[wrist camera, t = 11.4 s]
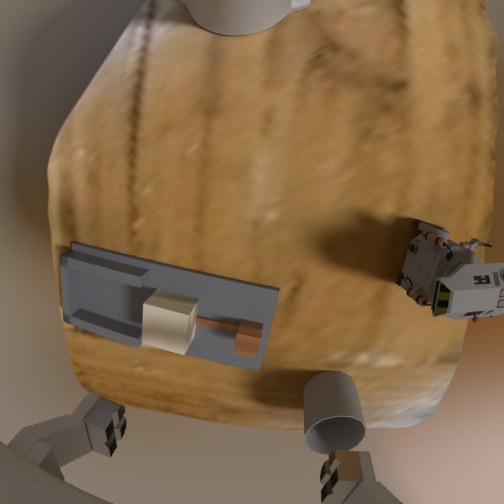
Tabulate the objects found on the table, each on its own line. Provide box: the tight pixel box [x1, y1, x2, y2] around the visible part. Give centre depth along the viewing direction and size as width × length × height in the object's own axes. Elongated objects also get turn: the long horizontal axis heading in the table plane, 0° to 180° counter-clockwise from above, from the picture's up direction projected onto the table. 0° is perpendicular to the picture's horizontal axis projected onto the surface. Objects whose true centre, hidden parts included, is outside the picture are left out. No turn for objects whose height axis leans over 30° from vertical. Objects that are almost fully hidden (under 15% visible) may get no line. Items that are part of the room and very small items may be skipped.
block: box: [142, 289, 263, 358], centre depth 41 cm, size 6×15×5 cm, turn 79°
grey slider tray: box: [60, 242, 280, 371], centre depth 42 cm, size 13×31×4 cm, turn 79°
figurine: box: [396, 219, 504, 322], centre depth 31 cm, size 9×12×15 cm
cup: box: [303, 371, 366, 455], centre depth 41 cm, size 8×8×10 cm
